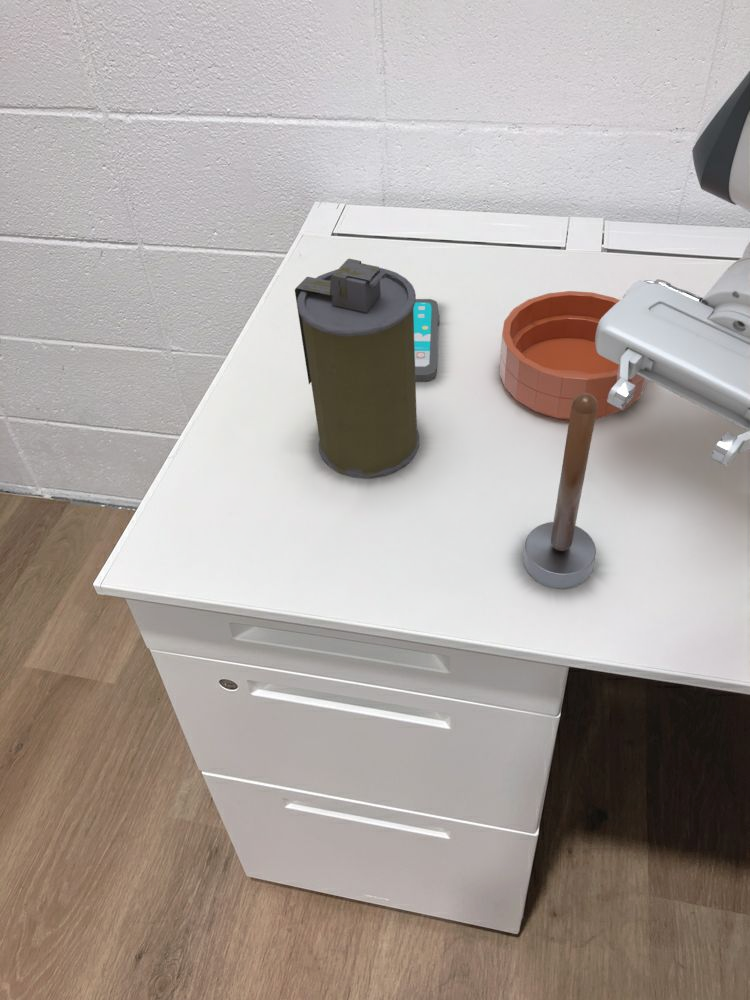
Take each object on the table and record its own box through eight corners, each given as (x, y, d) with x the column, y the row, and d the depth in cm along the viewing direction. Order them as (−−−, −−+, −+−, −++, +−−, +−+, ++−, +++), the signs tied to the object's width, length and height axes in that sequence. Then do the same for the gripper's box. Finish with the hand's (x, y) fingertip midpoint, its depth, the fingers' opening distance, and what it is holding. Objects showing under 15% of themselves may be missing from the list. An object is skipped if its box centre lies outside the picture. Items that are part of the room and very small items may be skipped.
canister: (435, 424, 84) (434, 250, 70) (393, 490, 78) (382, 314, 63) (343, 399, 88) (324, 230, 73) (296, 460, 81) (265, 288, 67)
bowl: (662, 357, 90) (674, 311, 85) (618, 442, 81) (628, 396, 76) (531, 323, 95) (536, 279, 91) (476, 399, 86) (478, 353, 82)
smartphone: (361, 373, 89) (370, 298, 99) (361, 380, 90) (370, 305, 100) (438, 373, 88) (439, 297, 98) (438, 380, 89) (439, 304, 99)
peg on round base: (602, 550, 71) (640, 383, 58) (578, 599, 68) (613, 433, 54) (538, 527, 73) (561, 361, 60) (512, 573, 70) (530, 408, 56)
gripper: (649, 246, 71) (560, 346, 66) (883, 348, 63) (799, 470, 58) (637, 297, 76) (554, 393, 72) (851, 397, 68) (772, 512, 64)
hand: (666, 428), depth 65 cm, fingers open, 8 cm apart
